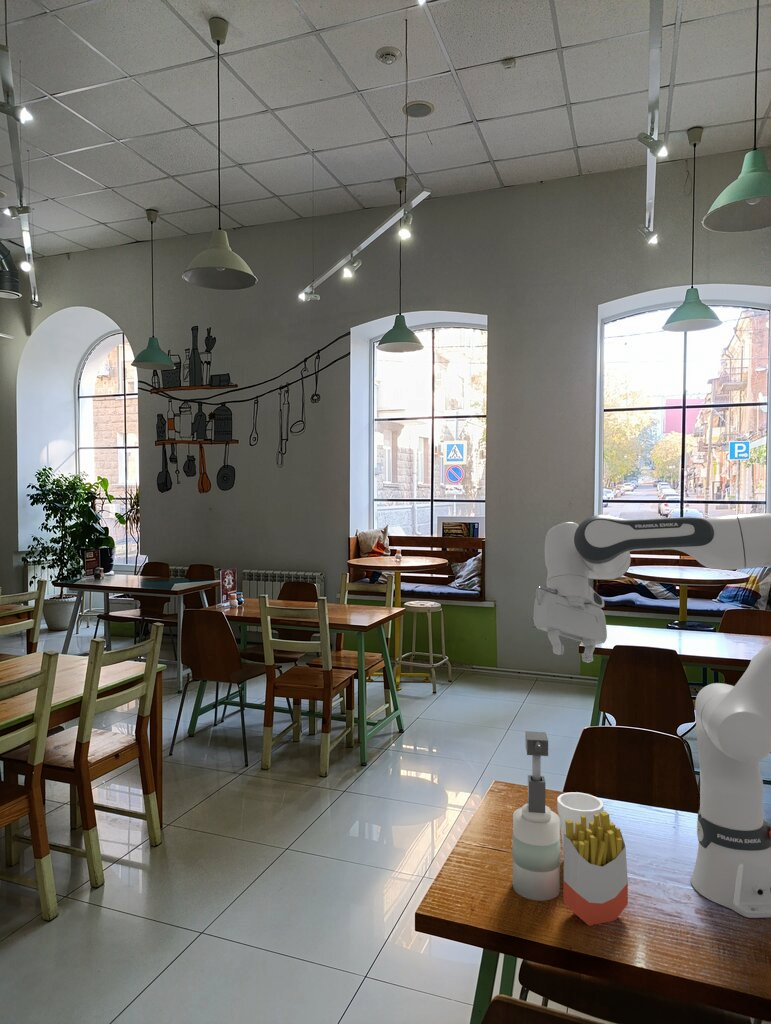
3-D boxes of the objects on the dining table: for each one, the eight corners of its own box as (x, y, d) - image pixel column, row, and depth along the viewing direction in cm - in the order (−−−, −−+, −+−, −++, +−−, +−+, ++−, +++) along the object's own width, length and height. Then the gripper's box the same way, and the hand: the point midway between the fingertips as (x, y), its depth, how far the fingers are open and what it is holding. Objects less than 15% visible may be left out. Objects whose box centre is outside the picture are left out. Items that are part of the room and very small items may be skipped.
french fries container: (629, 919, 121) (629, 820, 121) (577, 929, 118) (577, 828, 118) (613, 905, 126) (613, 809, 126) (563, 914, 123) (563, 817, 123)
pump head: (545, 778, 134) (545, 732, 134) (550, 796, 125) (550, 747, 125) (525, 776, 134) (525, 731, 134) (528, 795, 125) (528, 746, 125)
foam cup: (605, 877, 135) (605, 813, 135) (558, 872, 137) (558, 809, 137) (600, 853, 145) (600, 794, 145) (556, 849, 146) (556, 790, 146)
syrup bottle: (557, 876, 135) (557, 771, 135) (562, 903, 126) (563, 789, 126) (511, 873, 137) (511, 768, 137) (513, 898, 128) (513, 786, 128)
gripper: (548, 579, 136) (552, 646, 130) (608, 601, 147) (615, 663, 141) (524, 586, 141) (528, 651, 135) (585, 607, 152) (591, 668, 146)
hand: (573, 657), depth 138 cm, fingers open, 8 cm apart
